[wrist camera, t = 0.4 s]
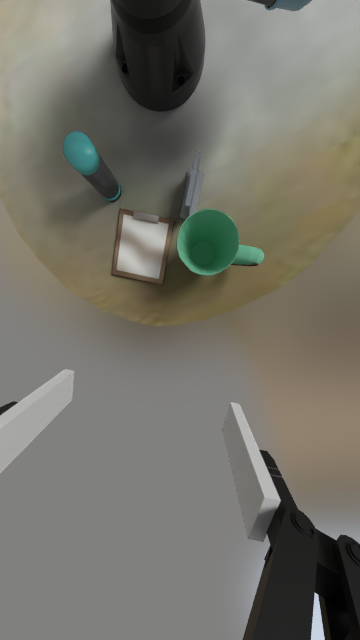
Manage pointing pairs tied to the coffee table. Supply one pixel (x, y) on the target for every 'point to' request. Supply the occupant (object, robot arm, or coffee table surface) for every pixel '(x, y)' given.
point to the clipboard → (142, 246)
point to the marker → (91, 165)
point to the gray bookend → (192, 189)
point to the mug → (213, 244)
